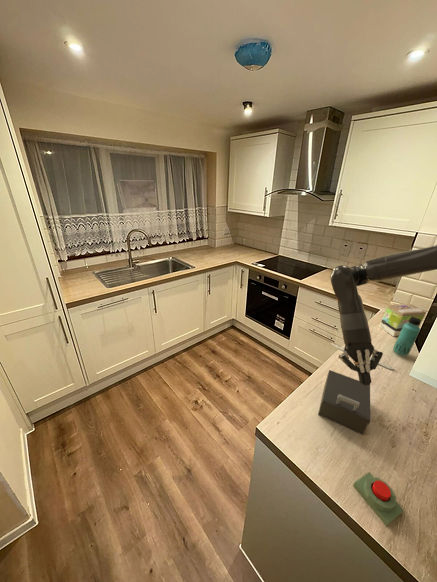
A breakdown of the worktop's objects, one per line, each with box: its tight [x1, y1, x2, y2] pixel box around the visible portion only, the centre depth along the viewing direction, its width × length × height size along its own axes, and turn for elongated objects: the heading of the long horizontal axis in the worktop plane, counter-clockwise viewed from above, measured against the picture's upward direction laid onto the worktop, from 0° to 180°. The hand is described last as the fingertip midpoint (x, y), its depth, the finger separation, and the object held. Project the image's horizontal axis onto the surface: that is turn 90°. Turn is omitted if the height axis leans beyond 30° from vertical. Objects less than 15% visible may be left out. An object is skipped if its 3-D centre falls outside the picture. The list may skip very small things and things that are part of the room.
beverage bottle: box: [392, 317, 422, 357], centre depth 109 cm, size 6×7×20 cm
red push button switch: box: [352, 471, 405, 527], centre depth 60 cm, size 6×9×4 cm
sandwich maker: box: [317, 375, 369, 436], centre depth 84 cm, size 16×14×6 cm
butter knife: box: [330, 342, 395, 371], centre depth 111 cm, size 1×27×3 cm
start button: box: [372, 480, 391, 501], centre depth 59 cm, size 4×4×2 cm
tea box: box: [378, 303, 427, 337], centre depth 129 cm, size 15×10×15 cm, turn 102°
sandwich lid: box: [322, 369, 371, 425], centre depth 81 cm, size 17×14×5 cm
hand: (366, 384), depth 71 cm, fingers closed
